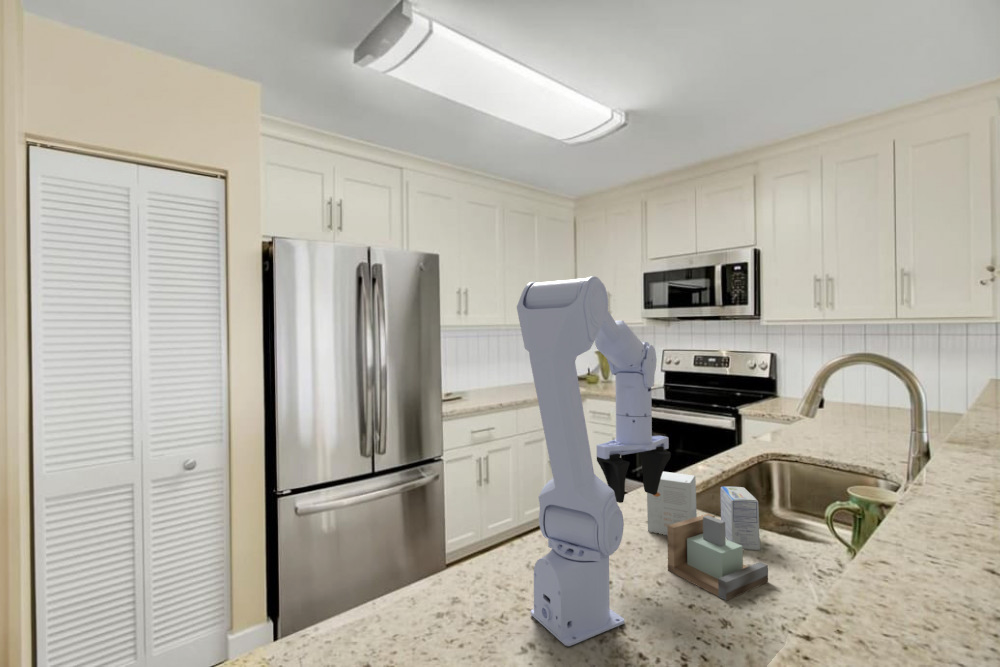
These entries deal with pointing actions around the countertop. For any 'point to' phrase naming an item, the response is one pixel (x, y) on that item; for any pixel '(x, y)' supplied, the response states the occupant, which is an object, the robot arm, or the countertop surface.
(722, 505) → the medicine box
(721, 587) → the board
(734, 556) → the mint block with tab
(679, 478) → the small box
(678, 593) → the countertop surface
